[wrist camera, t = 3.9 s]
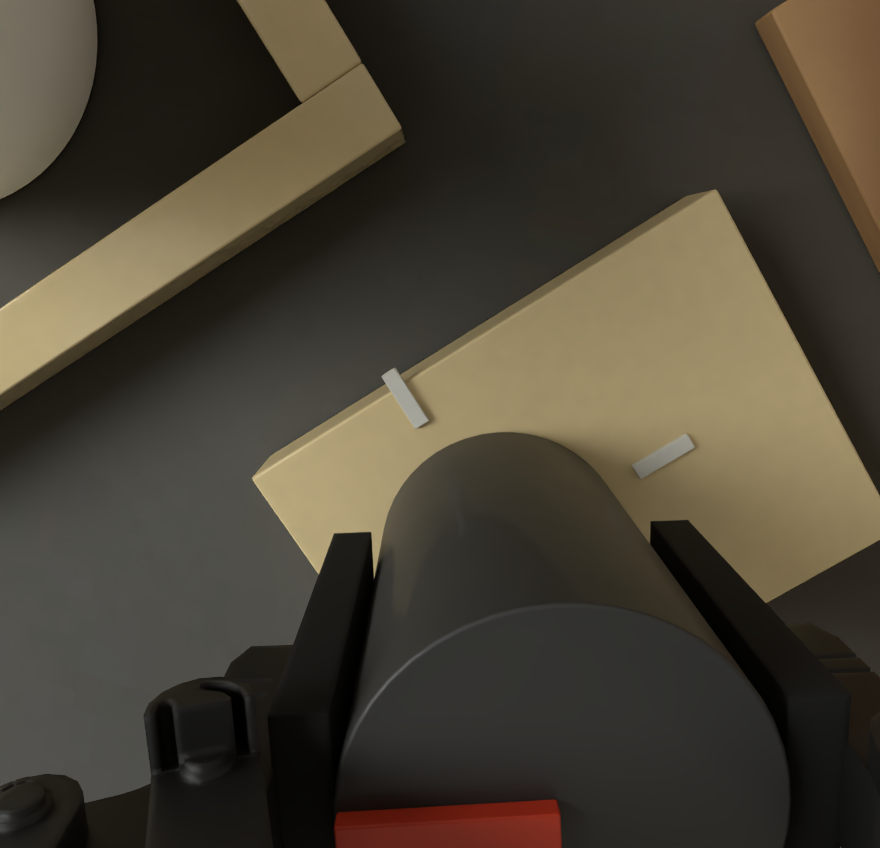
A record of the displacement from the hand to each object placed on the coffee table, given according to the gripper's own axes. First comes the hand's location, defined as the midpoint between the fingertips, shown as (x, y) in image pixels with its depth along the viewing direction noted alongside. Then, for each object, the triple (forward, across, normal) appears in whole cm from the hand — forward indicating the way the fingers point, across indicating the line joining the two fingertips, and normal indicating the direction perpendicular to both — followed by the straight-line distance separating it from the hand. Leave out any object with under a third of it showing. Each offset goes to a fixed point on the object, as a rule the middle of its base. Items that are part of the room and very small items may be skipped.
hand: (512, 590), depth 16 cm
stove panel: (+4, +2, +1) cm, 5 cm away
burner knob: (+2, 0, 0) cm, 2 cm away
